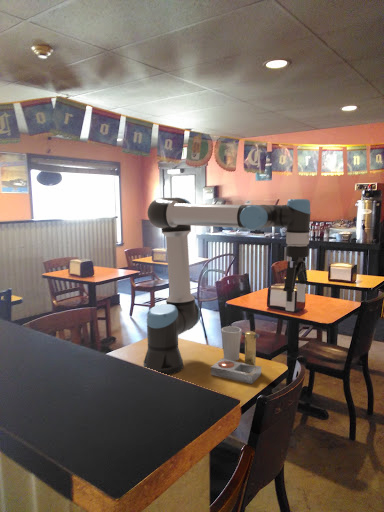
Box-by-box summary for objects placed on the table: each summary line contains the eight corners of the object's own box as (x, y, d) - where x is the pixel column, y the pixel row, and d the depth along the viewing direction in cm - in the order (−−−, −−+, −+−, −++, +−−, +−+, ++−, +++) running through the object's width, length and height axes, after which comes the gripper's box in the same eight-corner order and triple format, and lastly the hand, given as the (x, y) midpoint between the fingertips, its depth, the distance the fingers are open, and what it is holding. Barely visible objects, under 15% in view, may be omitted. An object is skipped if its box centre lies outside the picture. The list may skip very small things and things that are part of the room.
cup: (240, 362, 155) (240, 333, 153) (220, 361, 156) (220, 332, 155) (242, 355, 162) (242, 326, 161) (222, 353, 164) (222, 326, 162)
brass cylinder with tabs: (240, 368, 149) (240, 333, 147) (244, 365, 152) (244, 330, 150) (256, 372, 146) (256, 335, 144) (259, 368, 149) (260, 332, 147)
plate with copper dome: (210, 374, 144) (210, 366, 144) (221, 365, 152) (221, 358, 151) (251, 384, 136) (252, 375, 136) (261, 374, 144) (261, 366, 143)
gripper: (298, 249, 120) (296, 316, 123) (317, 242, 142) (315, 299, 144) (274, 248, 124) (273, 313, 127) (296, 241, 145) (294, 297, 148)
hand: (295, 306), depth 136 cm, fingers open, 13 cm apart
